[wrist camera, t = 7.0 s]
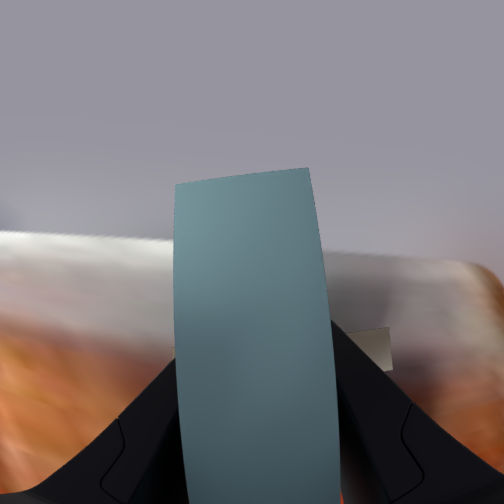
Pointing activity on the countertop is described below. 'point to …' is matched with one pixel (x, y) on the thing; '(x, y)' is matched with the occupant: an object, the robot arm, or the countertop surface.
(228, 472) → the teal slotted plate
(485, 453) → the countertop surface
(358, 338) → the birch slotted plate
